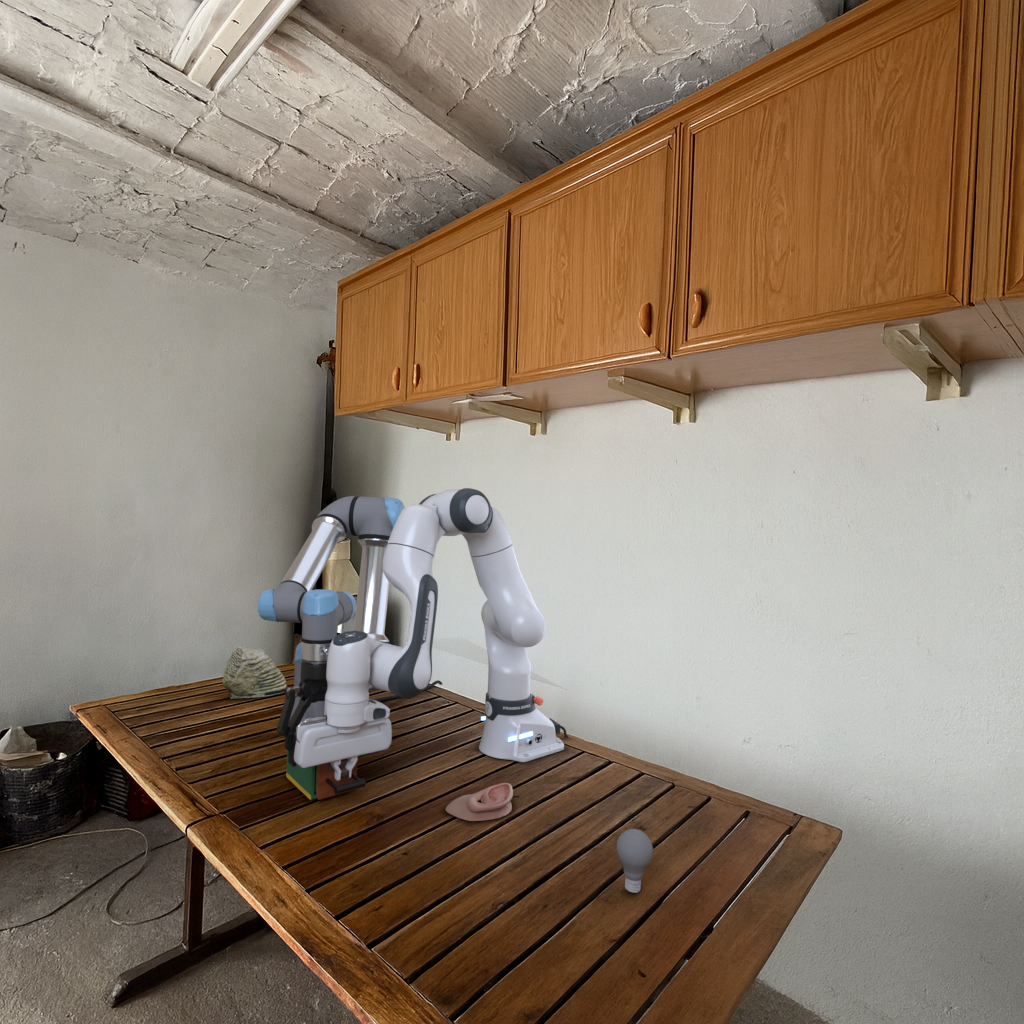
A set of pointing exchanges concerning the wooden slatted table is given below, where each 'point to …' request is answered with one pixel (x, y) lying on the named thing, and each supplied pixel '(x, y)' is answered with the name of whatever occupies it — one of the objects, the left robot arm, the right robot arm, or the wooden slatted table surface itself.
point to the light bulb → (634, 857)
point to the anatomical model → (483, 804)
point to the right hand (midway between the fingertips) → (342, 778)
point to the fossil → (252, 674)
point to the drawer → (328, 783)
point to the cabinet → (302, 778)
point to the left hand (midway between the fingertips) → (314, 758)
